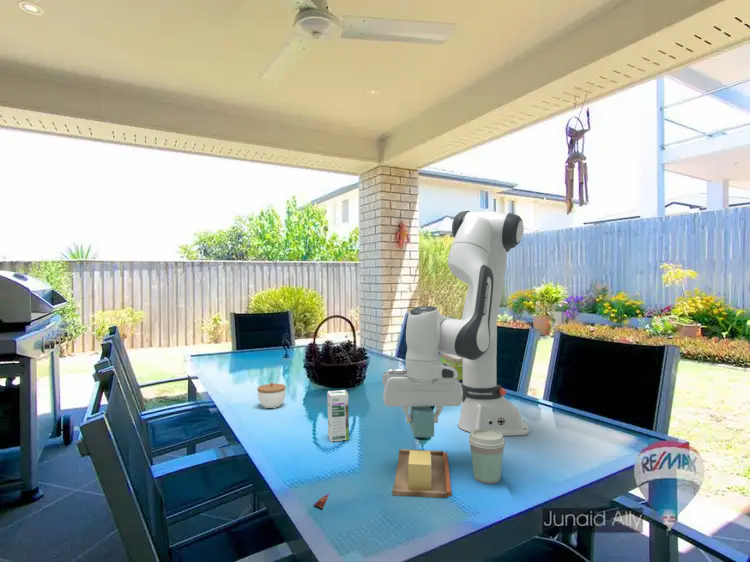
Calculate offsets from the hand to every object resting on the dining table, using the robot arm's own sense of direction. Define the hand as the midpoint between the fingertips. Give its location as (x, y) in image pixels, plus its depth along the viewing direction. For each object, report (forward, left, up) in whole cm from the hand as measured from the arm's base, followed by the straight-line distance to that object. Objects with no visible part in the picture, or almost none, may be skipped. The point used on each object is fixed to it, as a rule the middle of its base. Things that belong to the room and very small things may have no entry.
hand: (422, 422), depth 113 cm
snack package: (+18, +17, -13) cm, 28 cm away
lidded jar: (+59, -51, -13) cm, 79 cm away
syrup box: (+26, -20, -13) cm, 35 cm away
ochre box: (0, +11, -11) cm, 15 cm away
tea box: (-15, -89, -13) cm, 91 cm away
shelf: (0, +5, -12) cm, 13 cm away
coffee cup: (-16, +6, -13) cm, 21 cm away
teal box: (0, 0, -2) cm, 2 cm away
